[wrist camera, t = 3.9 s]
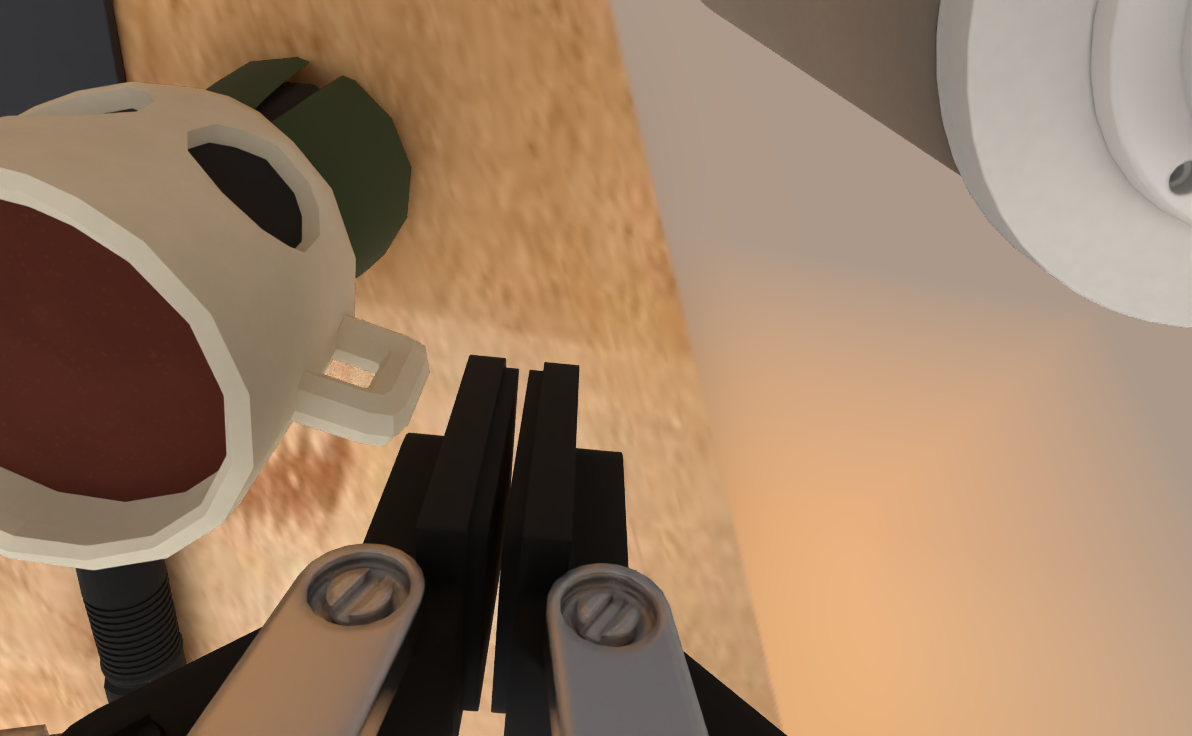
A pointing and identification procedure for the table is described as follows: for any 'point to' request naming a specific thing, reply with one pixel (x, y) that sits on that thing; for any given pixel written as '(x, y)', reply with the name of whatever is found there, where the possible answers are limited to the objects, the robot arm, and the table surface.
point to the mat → (55, 50)
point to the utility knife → (132, 624)
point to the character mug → (186, 302)
